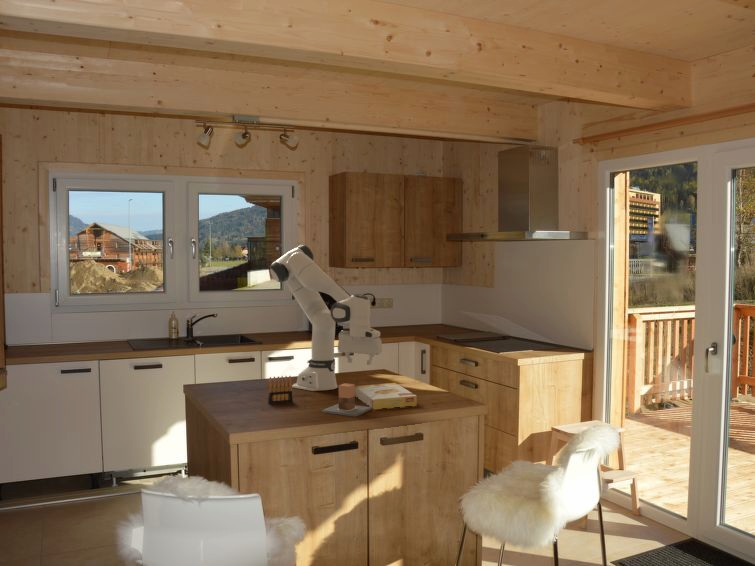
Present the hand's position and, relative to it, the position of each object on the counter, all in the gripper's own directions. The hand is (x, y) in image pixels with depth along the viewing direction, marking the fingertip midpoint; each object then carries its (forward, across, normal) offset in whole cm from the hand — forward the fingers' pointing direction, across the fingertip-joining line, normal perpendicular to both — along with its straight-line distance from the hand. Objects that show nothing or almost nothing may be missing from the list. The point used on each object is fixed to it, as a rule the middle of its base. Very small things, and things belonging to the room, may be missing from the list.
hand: (359, 363), depth 296 cm
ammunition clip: (+19, -34, -11) cm, 40 cm away
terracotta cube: (+12, 0, -12) cm, 17 cm away
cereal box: (+19, +7, +12) cm, 24 cm away
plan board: (+18, 0, -12) cm, 22 cm away
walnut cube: (+17, 0, -12) cm, 21 cm away
